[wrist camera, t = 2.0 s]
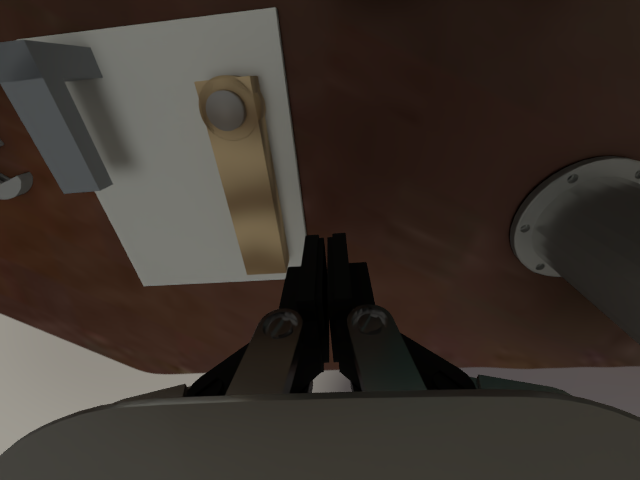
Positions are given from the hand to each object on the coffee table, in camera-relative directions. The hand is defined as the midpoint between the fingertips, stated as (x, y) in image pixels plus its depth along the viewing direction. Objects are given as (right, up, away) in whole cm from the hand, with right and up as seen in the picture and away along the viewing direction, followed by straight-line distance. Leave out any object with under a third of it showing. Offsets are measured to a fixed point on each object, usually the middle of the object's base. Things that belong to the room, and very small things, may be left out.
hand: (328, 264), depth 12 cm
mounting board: (-12, +7, +15) cm, 21 cm away
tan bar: (-6, +6, +14) cm, 17 cm away
